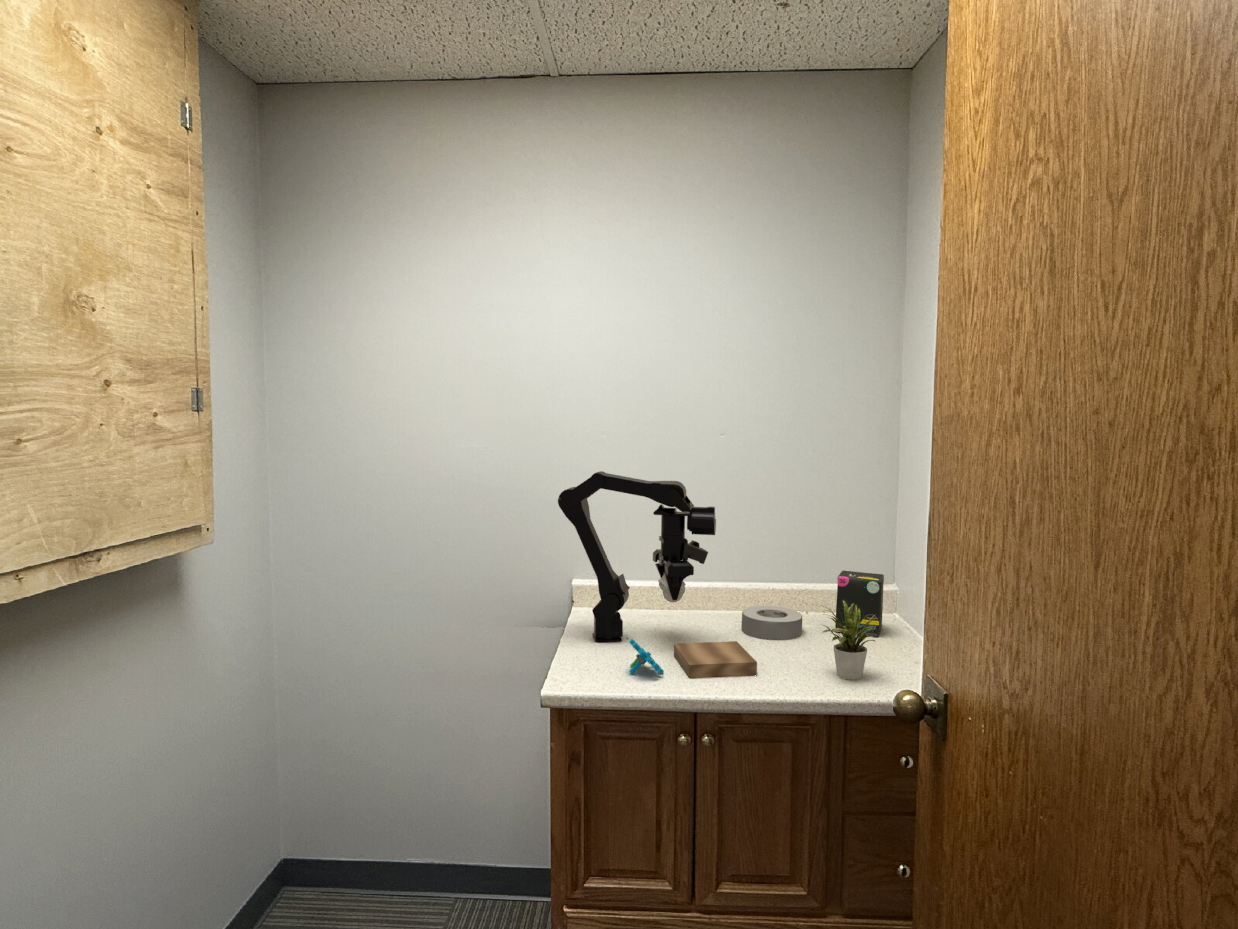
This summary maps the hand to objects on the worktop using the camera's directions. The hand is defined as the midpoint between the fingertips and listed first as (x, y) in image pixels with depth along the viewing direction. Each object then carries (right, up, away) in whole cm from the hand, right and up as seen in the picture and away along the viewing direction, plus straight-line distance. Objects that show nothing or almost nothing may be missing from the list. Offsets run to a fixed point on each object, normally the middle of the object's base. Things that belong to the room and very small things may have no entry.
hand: (671, 596), depth 195 cm
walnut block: (+8, -13, -15) cm, 22 cm away
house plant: (+36, -14, -20) cm, 44 cm away
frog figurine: (0, -2, 0) cm, 2 cm away
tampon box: (+50, -11, +13) cm, 52 cm away
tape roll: (+26, -11, +12) cm, 31 cm away
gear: (-7, -13, -20) cm, 25 cm away
